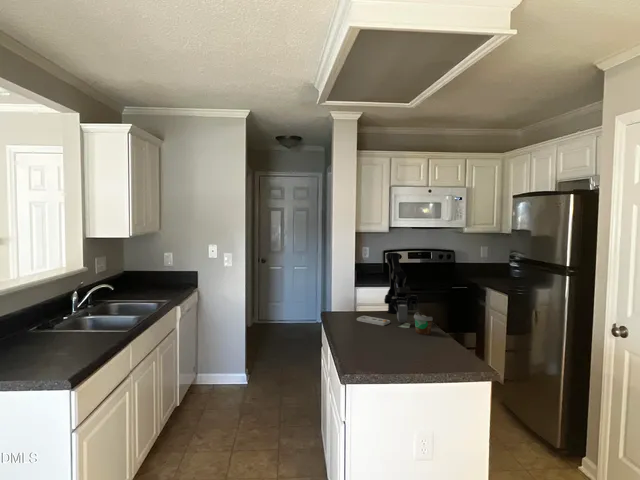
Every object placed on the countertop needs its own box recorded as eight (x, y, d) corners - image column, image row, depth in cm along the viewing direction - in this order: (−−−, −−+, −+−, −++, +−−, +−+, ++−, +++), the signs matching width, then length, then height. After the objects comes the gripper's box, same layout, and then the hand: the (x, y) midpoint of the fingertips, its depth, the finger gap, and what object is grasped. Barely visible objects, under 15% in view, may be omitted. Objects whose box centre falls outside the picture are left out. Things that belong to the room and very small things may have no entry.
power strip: (356, 322, 259) (356, 317, 258) (363, 319, 265) (364, 314, 265) (383, 327, 248) (383, 321, 248) (389, 324, 255) (390, 319, 254)
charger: (396, 319, 255) (397, 304, 255) (405, 320, 255) (405, 304, 255) (398, 322, 250) (398, 306, 250) (407, 322, 250) (407, 306, 250)
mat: (394, 323, 258) (394, 322, 258) (410, 324, 256) (410, 323, 256) (392, 326, 250) (392, 326, 250) (409, 328, 247) (409, 327, 247)
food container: (408, 330, 242) (409, 312, 241) (417, 329, 244) (418, 311, 244) (422, 336, 231) (423, 317, 230) (432, 335, 233) (432, 316, 233)
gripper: (385, 280, 255) (388, 303, 245) (417, 281, 255) (421, 304, 245) (383, 291, 264) (385, 314, 253) (414, 292, 264) (418, 315, 253)
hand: (402, 311), depth 251 cm, fingers closed on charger, 5 cm apart
